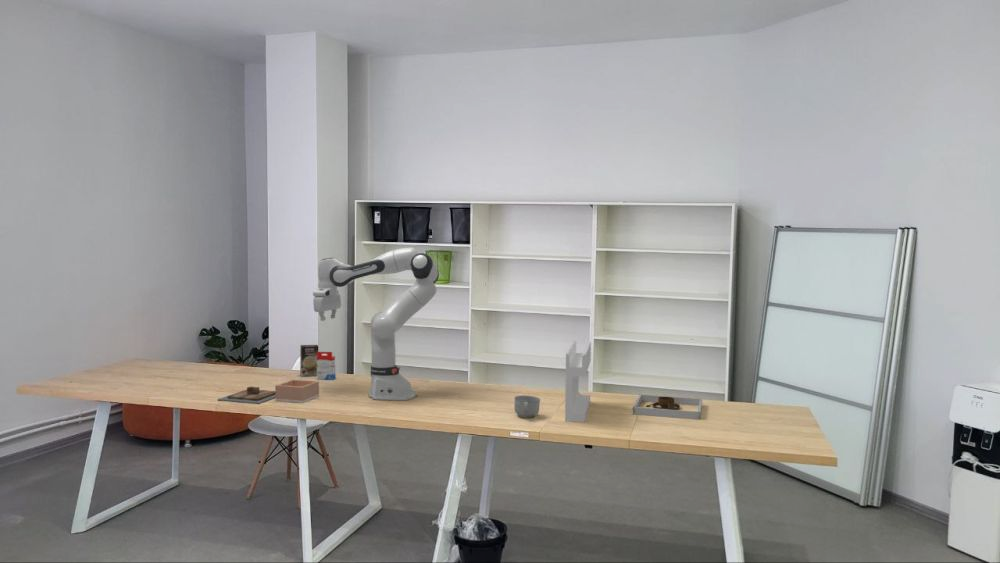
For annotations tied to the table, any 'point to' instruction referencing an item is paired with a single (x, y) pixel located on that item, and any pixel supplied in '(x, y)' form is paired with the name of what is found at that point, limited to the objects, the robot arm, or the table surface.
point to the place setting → (665, 403)
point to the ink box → (325, 366)
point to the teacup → (526, 406)
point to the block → (576, 384)
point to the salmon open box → (297, 391)
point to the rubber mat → (247, 400)
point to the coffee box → (308, 360)
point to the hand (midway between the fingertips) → (328, 319)
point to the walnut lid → (252, 394)
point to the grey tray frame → (668, 412)
